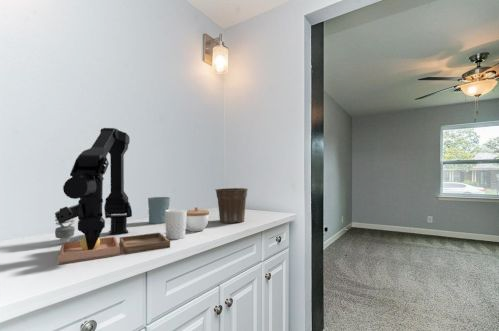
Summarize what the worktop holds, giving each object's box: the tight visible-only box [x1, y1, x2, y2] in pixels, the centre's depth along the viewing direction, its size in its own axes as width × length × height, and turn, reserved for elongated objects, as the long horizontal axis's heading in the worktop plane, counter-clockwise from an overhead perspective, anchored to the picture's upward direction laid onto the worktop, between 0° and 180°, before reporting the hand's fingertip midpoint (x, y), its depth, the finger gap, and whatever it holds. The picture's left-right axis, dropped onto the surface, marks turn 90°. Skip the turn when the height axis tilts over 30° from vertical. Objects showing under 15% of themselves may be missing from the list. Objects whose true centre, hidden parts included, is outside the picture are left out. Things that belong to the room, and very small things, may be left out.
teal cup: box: [147, 196, 171, 225], centre depth 124 cm, size 10×10×12 cm
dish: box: [57, 235, 121, 266], centre depth 75 cm, size 14×14×2 cm
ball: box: [80, 235, 100, 251], centre depth 75 cm, size 5×5×5 cm
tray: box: [119, 232, 171, 255], centre depth 83 cm, size 14×13×2 cm
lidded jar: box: [186, 207, 210, 232], centre depth 107 cm, size 11×11×9 cm
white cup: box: [164, 208, 187, 240], centre depth 94 cm, size 8×8×10 cm
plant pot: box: [214, 187, 249, 224], centre depth 127 cm, size 16×16×16 cm
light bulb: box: [54, 216, 76, 244], centre depth 86 cm, size 6×6×12 cm
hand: (90, 248), depth 75 cm, fingers closed on ball, 5 cm apart
